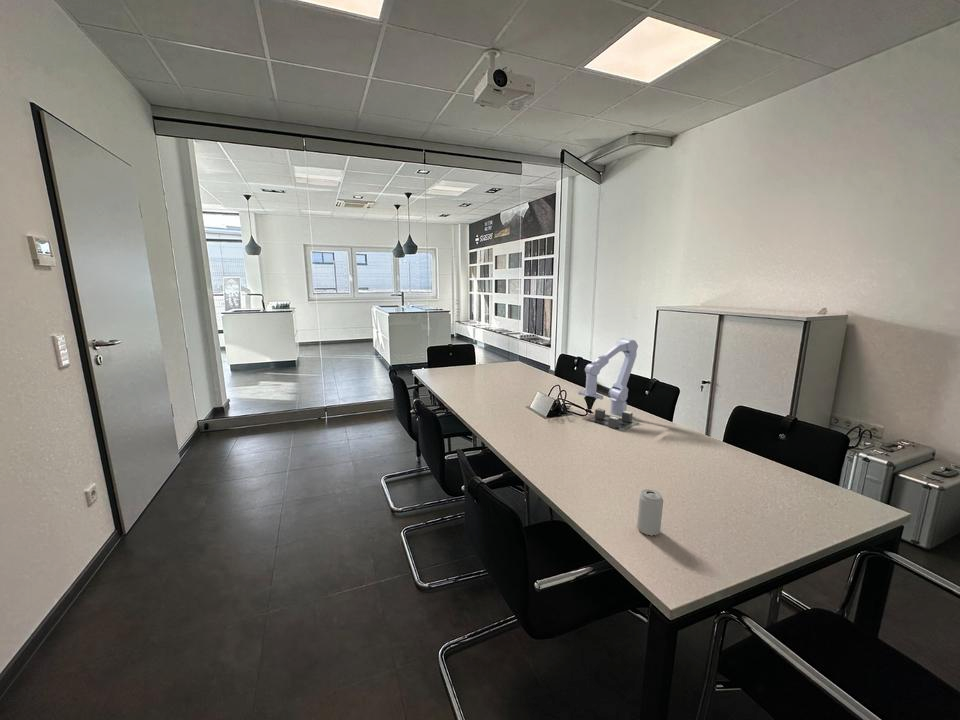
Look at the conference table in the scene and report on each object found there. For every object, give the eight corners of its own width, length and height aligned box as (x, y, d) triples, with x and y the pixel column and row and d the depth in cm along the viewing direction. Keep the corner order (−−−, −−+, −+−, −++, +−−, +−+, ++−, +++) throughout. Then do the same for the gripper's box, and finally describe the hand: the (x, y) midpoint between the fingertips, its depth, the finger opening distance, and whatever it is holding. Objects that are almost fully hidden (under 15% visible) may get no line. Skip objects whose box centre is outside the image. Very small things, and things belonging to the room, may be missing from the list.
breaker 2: (624, 418, 214) (625, 410, 213) (632, 420, 211) (632, 412, 210) (621, 420, 212) (622, 411, 211) (628, 422, 209) (629, 413, 208)
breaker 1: (611, 424, 205) (612, 415, 204) (619, 426, 202) (619, 417, 201) (608, 426, 202) (608, 417, 202) (615, 428, 199) (616, 419, 199)
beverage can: (653, 524, 121) (657, 488, 119) (664, 537, 115) (667, 499, 113) (633, 524, 121) (636, 488, 119) (642, 537, 115) (646, 499, 112)
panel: (599, 415, 226) (599, 412, 226) (639, 425, 209) (639, 422, 209) (581, 421, 214) (581, 419, 214) (622, 433, 197) (623, 430, 197)
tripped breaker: (598, 416, 218) (598, 408, 217) (604, 418, 215) (605, 409, 214) (594, 417, 216) (595, 409, 215) (601, 419, 213) (601, 411, 212)
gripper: (575, 384, 220) (574, 407, 222) (599, 389, 209) (597, 413, 212) (582, 382, 224) (581, 405, 227) (606, 387, 214) (604, 411, 216)
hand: (589, 409), depth 220 cm, fingers closed
